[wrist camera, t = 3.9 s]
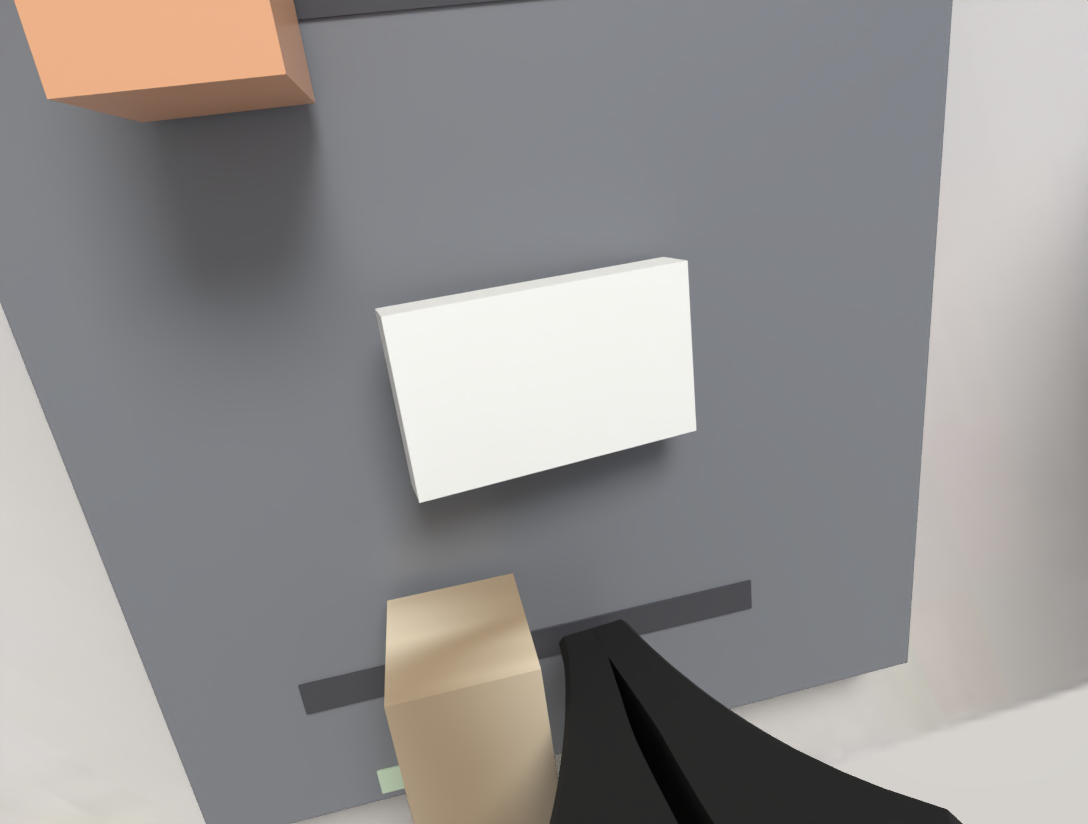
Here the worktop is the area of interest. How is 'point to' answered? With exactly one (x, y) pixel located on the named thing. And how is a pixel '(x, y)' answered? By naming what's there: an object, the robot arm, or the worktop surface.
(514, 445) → the off-white rocker
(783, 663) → the switch panel
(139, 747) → the worktop surface
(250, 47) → the peach slider
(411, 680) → the tan cardboard carton
